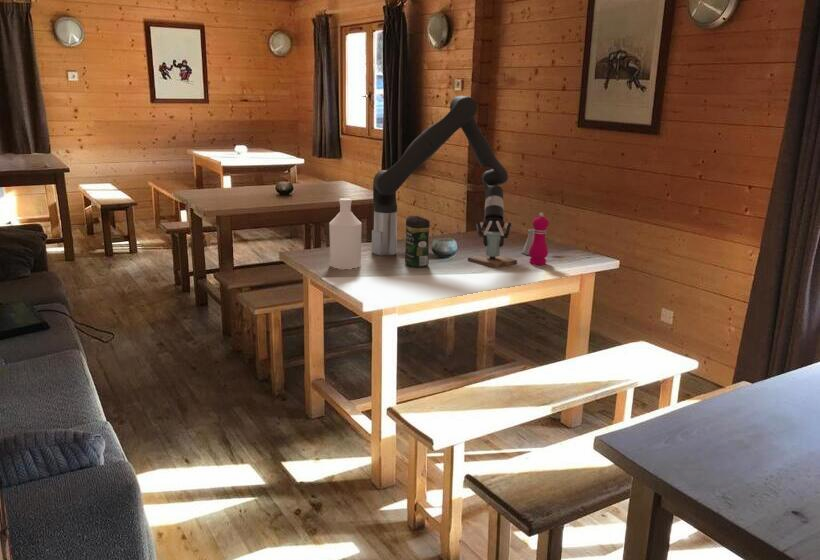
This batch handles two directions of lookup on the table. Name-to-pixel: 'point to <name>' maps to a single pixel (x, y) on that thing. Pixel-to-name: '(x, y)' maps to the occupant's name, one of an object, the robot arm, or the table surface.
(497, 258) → the post stand
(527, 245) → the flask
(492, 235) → the grey canister
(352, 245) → the bottle
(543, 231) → the pepper mill
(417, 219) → the coffee jar
